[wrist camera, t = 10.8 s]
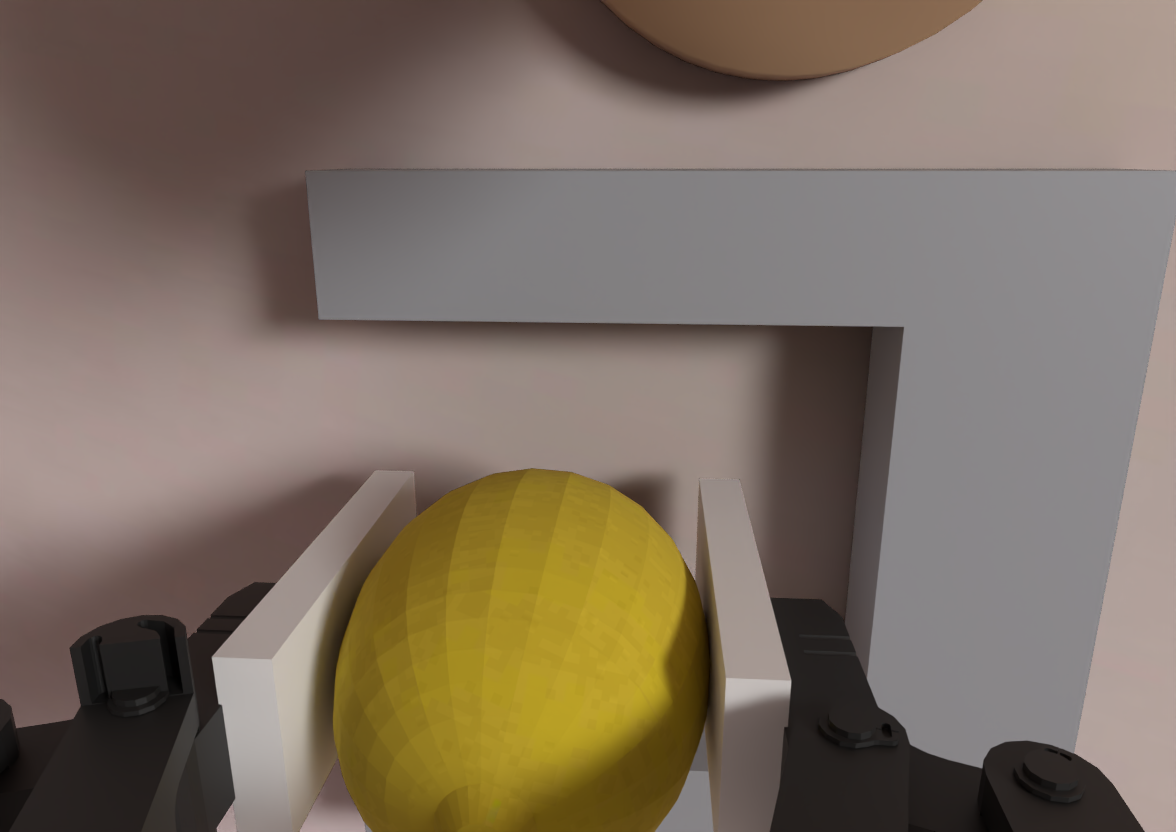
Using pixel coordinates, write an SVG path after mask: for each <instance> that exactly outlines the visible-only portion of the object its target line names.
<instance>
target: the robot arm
mask: <svg viewBox="0 0 1176 832" xmlns="http://www.w3.org/2000/svg"><path fill="white" fill-rule="evenodd" d="M416 517H417V512H416V496H415V480H414V471H389V470H375V472H374V473H373V474H372V475H371V476H370V477H369V478H368V480H367V481H366V482H365V483H364V484H363V485H362V486H361V488H360V489H359V490H358V491H357V492H356V493H355V494H354V496H353V497H352V498H351V499H350V500H349V501H348V502H347V503H346V505H345V506H344V507H343V508H342V509H341V510H340V511H339V513H338V514H337V515H336V516H335V517H334V518H333V519H332V521H331V522H330V523H329V524H328V525H327V526H326V527H325V529H324V530H323V531H322V532H321V533H320V534H319V535H318V537H317V538H316V539H315V540H314V541H313V542H312V543H311V545H310V546H309V547H308V548H307V549H306V550H305V551H304V552H303V554H302V555H301V556H300V557H299V558H298V559H297V560H296V562H295V563H294V564H293V565H292V566H291V567H290V568H289V570H288V571H287V572H286V573H285V574H284V575H283V576H282V578H281V579H280V580H279V581H278V582H277V583H258V582H255V583H253V584H251V585H249V586H247V587H246V588H244V589H242V590H240V591H238V592H237V593H235V594H233V595H231V596H229V597H228V598H227V599H226V600H225V601H224V602H223V603H222V604H221V605H220V606H219V607H218V608H217V609H216V610H215V611H214V612H213V613H212V614H211V618H210V619H209V618H207V620H206V621H205V622H204V623H203V624H202V625H201V626H200V627H199V628H198V629H197V633H193V634H192V635H191V636H190V637H189V638H188V639H187V633H186V627H185V625H183V624H182V623H181V622H180V621H179V620H178V619H175V618H171V617H167V616H163V615H142V616H137V617H131V618H125V619H120V620H117V621H114V622H112V623H109V624H106V625H103V626H100V627H98V628H96V629H94V630H92V631H91V632H89V633H87V634H85V635H83V636H82V637H80V638H79V639H78V640H77V641H76V642H75V643H74V644H73V645H72V646H71V647H70V653H71V658H72V663H73V668H74V673H75V678H76V683H77V688H78V693H79V698H80V703H81V707H80V709H79V711H78V712H77V714H76V716H75V717H74V719H72V720H67V721H61V722H55V723H48V724H42V725H35V726H29V727H22V728H16V726H15V722H14V717H13V713H12V708H11V706H10V705H9V704H7V703H6V702H5V701H4V700H2V699H0V832H217V829H216V828H217V826H218V825H219V823H220V822H221V820H222V818H223V817H224V815H225V814H226V812H227V811H228V809H229V808H230V806H231V805H232V803H233V807H234V813H235V820H236V827H237V832H299V831H300V829H301V827H302V825H303V823H304V821H305V819H306V817H307V816H308V814H309V812H310V810H311V808H312V806H313V804H314V802H315V800H316V798H317V796H318V795H319V793H320V791H321V789H322V787H323V785H324V783H325V781H326V779H327V777H328V775H329V773H330V772H331V770H332V768H333V766H334V764H335V762H336V760H337V758H338V754H337V749H336V745H335V740H334V731H333V708H334V690H335V677H336V666H337V661H338V656H339V651H340V647H341V644H342V640H343V637H344V634H345V631H346V628H347V626H348V623H349V620H350V618H351V615H352V612H353V609H354V607H355V604H356V601H357V598H358V596H359V593H360V591H361V589H362V586H363V584H364V582H365V580H366V579H367V577H368V575H369V573H370V572H371V570H372V569H373V567H374V566H375V565H376V563H377V562H378V561H379V559H380V558H381V557H382V555H383V554H384V553H385V552H386V550H387V549H388V548H389V546H390V545H391V544H392V542H393V541H394V540H395V538H396V537H397V536H398V534H399V533H400V532H401V531H402V529H403V528H404V527H405V526H406V525H407V524H408V523H410V522H411V521H412V520H413V519H414V518H416ZM695 582H696V584H697V587H698V590H699V594H700V598H701V602H702V607H703V611H704V615H705V620H706V624H707V630H708V637H709V652H710V677H709V696H708V709H707V717H706V721H705V725H704V726H705V738H706V749H707V761H708V773H709V784H710V796H711V808H712V819H713V831H714V832H1145V831H1144V830H1143V828H1142V827H1141V825H1140V824H1139V822H1138V821H1137V820H1136V818H1135V817H1134V815H1133V814H1132V812H1131V811H1130V809H1129V808H1128V806H1127V805H1126V803H1125V802H1124V800H1123V799H1122V797H1121V796H1120V794H1119V793H1118V791H1117V790H1116V788H1115V787H1114V785H1113V784H1112V783H1111V782H1110V781H1109V780H1108V778H1107V777H1106V776H1105V775H1104V774H1103V773H1102V772H1101V771H1100V770H1099V769H1098V768H1097V767H1095V766H1094V765H1092V764H1090V763H1089V762H1087V761H1086V760H1084V759H1083V758H1081V757H1079V756H1078V755H1076V754H1074V753H1071V752H1069V751H1066V750H1064V749H1061V748H1059V747H1056V746H1053V745H1050V744H1044V743H1038V742H1033V741H1027V740H1026V741H1008V742H1004V743H1001V744H999V745H997V746H995V747H992V748H990V750H989V752H988V753H987V755H986V757H985V758H984V760H983V767H982V768H979V767H975V766H971V765H967V764H963V763H959V762H955V761H951V760H947V759H944V758H941V757H938V756H935V755H932V754H929V753H927V752H924V751H922V750H920V749H918V748H916V747H914V746H912V745H910V742H909V739H908V736H907V733H906V729H905V728H904V727H903V726H902V725H901V724H900V723H899V722H898V721H897V719H896V718H895V717H894V716H892V715H891V714H889V713H887V712H885V711H884V710H882V709H880V708H879V707H878V705H877V703H876V701H875V698H874V696H873V693H872V691H871V688H870V686H869V683H868V681H867V678H866V676H865V673H864V671H863V668H862V666H861V663H860V661H859V658H858V656H856V651H855V648H854V646H853V643H852V641H851V640H850V636H849V633H848V631H847V628H846V626H845V623H844V621H843V618H842V617H841V616H840V615H839V614H838V613H837V612H836V611H834V610H833V609H832V608H831V607H830V606H829V605H827V604H826V603H825V602H824V601H823V600H817V599H789V598H770V596H769V592H768V588H767V584H766V580H765V576H764V573H763V569H762V565H761V561H760V557H759V553H758V549H757V545H756V542H755V538H754V534H753V530H752V526H751V522H750V518H749V514H748V510H747V507H746V503H745V499H744V495H743V491H742V487H741V483H740V479H710V478H699V496H698V522H697V548H696V574H695Z"/></svg>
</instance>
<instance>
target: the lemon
mask: <svg viewBox="0 0 1176 832" xmlns="http://www.w3.org/2000/svg"><path fill="white" fill-rule="evenodd" d="M709 677H710V652H709V637H708V630H707V624H706V620H705V615H704V611H703V607H702V602H701V598H700V594H699V590H698V587H697V584H696V582H695V580H694V578H693V576H692V574H691V572H690V570H689V569H688V567H687V565H686V563H685V561H684V559H683V558H682V556H681V554H680V552H679V550H678V549H677V547H676V545H675V543H674V541H673V540H672V538H671V537H670V536H669V535H668V534H667V533H666V532H665V531H664V530H663V528H662V527H661V526H660V525H659V524H658V523H657V522H656V521H655V520H654V519H653V518H652V517H651V516H650V515H649V514H648V513H647V512H646V510H645V509H644V508H643V507H642V506H640V505H639V504H637V503H636V502H634V501H633V500H631V499H630V498H628V497H627V496H625V495H623V494H622V493H620V492H619V491H617V490H616V489H614V488H613V487H611V486H610V485H607V484H604V483H602V482H599V481H596V480H593V479H590V478H587V477H584V476H581V475H578V474H575V473H572V472H565V471H555V470H544V469H534V468H531V469H524V470H517V471H509V472H502V473H495V474H492V475H489V476H486V477H484V478H481V479H479V480H477V481H474V482H472V483H469V484H467V485H465V486H462V487H460V488H457V489H455V490H452V491H450V492H449V493H447V494H446V495H444V496H443V497H442V498H440V499H439V500H438V501H436V502H435V503H434V504H432V505H431V506H430V507H429V508H427V509H426V510H425V511H423V512H422V513H421V514H419V515H418V516H417V517H416V518H414V519H413V520H412V521H411V522H410V523H408V524H407V525H406V526H405V527H404V528H403V529H402V531H401V532H400V533H399V534H398V536H397V537H396V538H395V540H394V541H393V542H392V544H391V545H390V546H389V548H388V549H387V550H386V552H385V553H384V554H383V555H382V557H381V558H380V559H379V561H378V562H377V563H376V565H375V566H374V567H373V569H372V570H371V572H370V573H369V575H368V577H367V579H366V580H365V582H364V584H363V586H362V589H361V591H360V593H359V596H358V598H357V601H356V604H355V607H354V609H353V612H352V615H351V618H350V620H349V623H348V626H347V628H346V631H345V634H344V637H343V640H342V644H341V647H340V651H339V656H338V661H337V666H336V677H335V690H334V708H333V731H334V740H335V745H336V749H337V754H338V758H339V763H340V767H341V772H342V776H343V779H344V781H345V784H346V787H347V790H348V792H349V794H350V796H351V798H352V799H353V801H354V803H355V805H356V807H357V809H358V811H359V813H360V815H361V817H362V819H363V820H364V822H365V823H366V825H367V826H368V827H369V828H370V829H371V831H372V832H655V831H656V829H657V828H658V827H659V825H660V824H661V823H662V821H663V820H664V819H665V817H666V816H667V815H668V813H669V812H670V810H671V809H672V807H673V806H674V804H675V803H676V801H677V800H678V798H679V796H680V793H681V791H682V789H683V787H684V784H685V782H686V779H687V776H688V773H689V771H690V768H691V765H692V762H693V760H694V757H695V754H696V751H697V748H698V746H699V743H700V739H701V736H702V733H703V730H704V725H705V721H706V717H707V709H708V696H709Z"/></svg>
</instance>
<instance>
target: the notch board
mask: <svg viewBox="0 0 1176 832" xmlns="http://www.w3.org/2000/svg"><path fill="white" fill-rule="evenodd" d="M305 175H306V186H307V197H308V207H309V218H310V229H311V240H312V251H313V262H314V273H315V284H316V295H317V306H318V317H319V319H321V320H401V321H481V322H562V323H642V324H723V325H803V326H873V332H872V343H871V353H870V364H869V374H868V385H867V395H866V406H865V416H864V427H863V437H862V448H861V458H860V469H859V480H858V490H857V501H856V511H855V522H854V532H853V543H852V553H851V564H850V574H849V585H848V595H847V606H846V616H845V626H846V628H847V631H848V633H849V636H850V640H851V641H852V643H853V646H854V648H855V651H856V656H858V658H859V661H860V663H861V666H862V668H863V671H864V673H865V676H866V678H867V681H868V683H869V686H870V688H871V691H872V693H873V696H874V698H875V701H876V703H877V705H878V707H879V708H880V709H882V710H884V711H885V712H887V713H889V714H891V715H892V716H894V717H895V718H896V719H897V721H898V722H899V723H900V724H901V725H902V726H903V727H904V728H905V729H906V733H907V736H908V739H909V742H910V745H912V746H914V747H916V748H918V749H920V750H922V751H924V752H927V753H929V754H932V755H935V756H938V757H941V758H944V759H947V760H951V761H955V762H959V763H963V764H967V765H971V766H975V767H979V768H982V767H983V760H984V758H985V757H986V755H987V753H988V752H989V750H990V748H992V747H995V746H997V745H999V744H1001V743H1004V742H1008V741H1026V740H1027V741H1033V742H1038V743H1044V744H1050V745H1053V746H1056V747H1059V748H1061V749H1064V750H1066V751H1069V752H1071V753H1074V751H1075V745H1076V740H1077V735H1078V730H1079V724H1080V719H1081V714H1082V709H1083V703H1084V698H1085V693H1086V688H1087V682H1088V677H1089V672H1090V666H1091V661H1092V656H1093V651H1094V645H1095V640H1096V635H1097V630H1098V624H1099V619H1100V614H1101V609H1102V603H1103V598H1104V593H1105V588H1106V582H1107V577H1108V572H1109V567H1110V561H1111V556H1112V551H1113V546H1114V540H1115V535H1116V530H1117V525H1118V519H1119V514H1120V509H1121V504H1122V498H1123V493H1124V488H1125V483H1126V477H1127V472H1128V467H1129V461H1130V456H1131V451H1132V446H1133V440H1134V435H1135V430H1136V425H1137V419H1138V414H1139V409H1140V404H1141V398H1142V393H1143V388H1144V383H1145V377H1146V372H1147V367H1148V362H1149V356H1150V351H1151V346H1152V341H1153V335H1154V330H1155V325H1156V320H1157V314H1158V309H1159V304H1160V299H1161V293H1162V288H1163V283H1164V278H1165V272H1166V267H1167V262H1168V256H1169V251H1170V246H1171V241H1172V235H1173V230H1174V225H1175V220H1176V171H1170V170H1137V169H334V170H311V171H305ZM365 830H366V832H372V831H371V829H370V828H369V827H368V826H367V825H366V823H365ZM655 832H714V831H713V819H712V808H711V796H710V784H709V773H708V761H707V749H706V738H705V726H704V730H703V733H702V736H701V739H700V743H699V746H698V748H697V751H696V754H695V757H694V760H693V762H692V765H691V768H690V771H689V773H688V776H687V779H686V782H685V784H684V787H683V789H682V791H681V793H680V796H679V798H678V800H677V801H676V803H675V804H674V806H673V807H672V809H671V810H670V812H669V813H668V815H667V816H666V817H665V819H664V820H663V821H662V823H661V824H660V825H659V827H658V828H657V829H656V831H655Z"/></svg>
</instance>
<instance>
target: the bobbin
mask: <svg viewBox="0 0 1176 832" xmlns="http://www.w3.org/2000/svg"><path fill="white" fill-rule="evenodd" d="M601 1H602V2H603V3H604V4H605V5H606V6H607V7H608V8H609V9H610V10H611V11H612V12H613V13H614V14H615V15H616V16H617V17H618V18H619V19H620V20H622V21H623V22H624V23H625V24H626V25H627V26H628V27H630V28H631V29H632V30H634V31H635V32H636V33H638V34H639V35H641V36H642V37H643V38H645V39H646V40H648V41H649V42H650V43H652V44H653V45H655V46H657V47H658V48H660V49H662V50H664V51H666V52H668V53H670V54H672V55H674V56H676V57H677V58H679V59H681V60H683V61H686V62H688V63H691V64H694V65H697V66H700V67H702V68H705V69H708V70H711V71H713V72H717V73H722V74H727V75H732V76H737V77H741V78H746V79H759V80H775V81H786V80H799V79H812V78H818V77H823V76H828V75H833V74H837V73H842V72H847V71H850V70H853V69H856V68H859V67H862V66H864V65H867V64H870V63H873V62H876V61H878V60H881V59H884V58H886V57H889V56H891V55H893V54H896V53H898V52H900V51H902V50H904V49H906V48H908V47H910V46H912V45H914V44H916V43H918V42H920V41H922V40H924V39H926V38H928V37H930V36H932V35H934V34H936V33H938V32H939V31H941V30H942V29H944V28H945V27H947V26H948V25H950V24H951V23H953V22H954V21H956V20H957V19H959V18H960V17H962V16H963V15H965V14H966V13H968V12H969V11H971V10H972V9H973V8H974V7H975V6H976V5H978V4H979V3H980V2H981V1H982V0H601Z"/></svg>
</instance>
